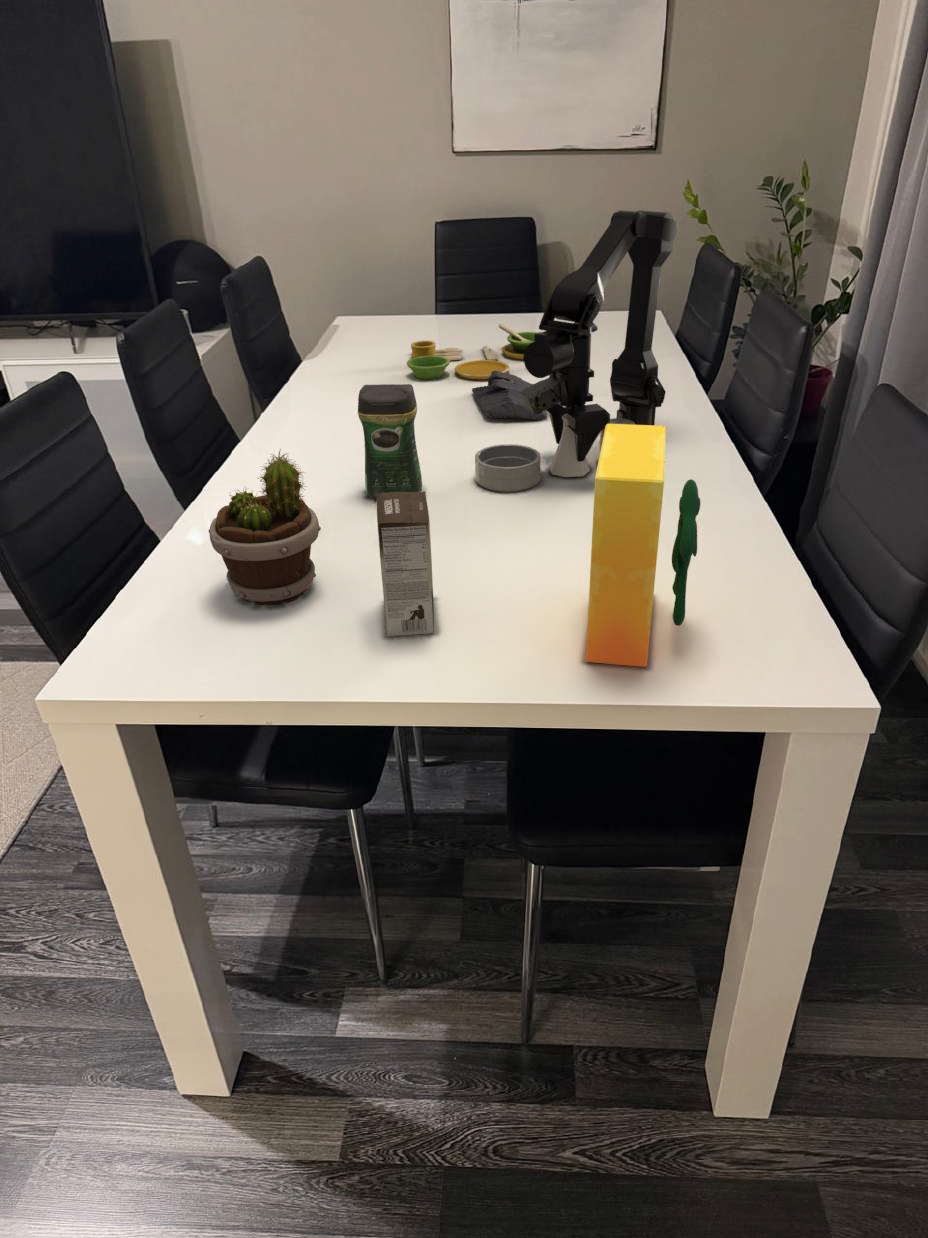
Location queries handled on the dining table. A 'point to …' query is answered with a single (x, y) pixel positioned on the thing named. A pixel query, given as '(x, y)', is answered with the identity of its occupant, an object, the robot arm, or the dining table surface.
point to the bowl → (507, 467)
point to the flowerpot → (268, 538)
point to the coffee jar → (389, 438)
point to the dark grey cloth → (505, 397)
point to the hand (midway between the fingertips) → (569, 452)
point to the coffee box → (406, 562)
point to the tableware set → (434, 364)
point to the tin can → (614, 421)
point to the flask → (567, 456)
